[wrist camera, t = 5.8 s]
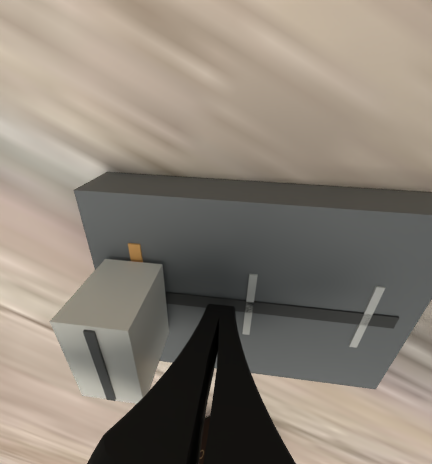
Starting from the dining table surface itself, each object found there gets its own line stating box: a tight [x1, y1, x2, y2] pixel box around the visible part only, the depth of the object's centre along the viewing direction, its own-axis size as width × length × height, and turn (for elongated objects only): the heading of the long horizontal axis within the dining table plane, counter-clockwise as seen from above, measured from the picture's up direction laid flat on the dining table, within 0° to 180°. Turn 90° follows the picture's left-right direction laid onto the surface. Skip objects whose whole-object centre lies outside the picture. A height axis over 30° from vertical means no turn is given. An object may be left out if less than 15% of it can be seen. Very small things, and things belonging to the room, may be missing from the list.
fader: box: [50, 259, 169, 404], centre depth 12 cm, size 3×5×4 cm, turn 178°
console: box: [74, 172, 432, 389], centre depth 15 cm, size 17×12×3 cm
